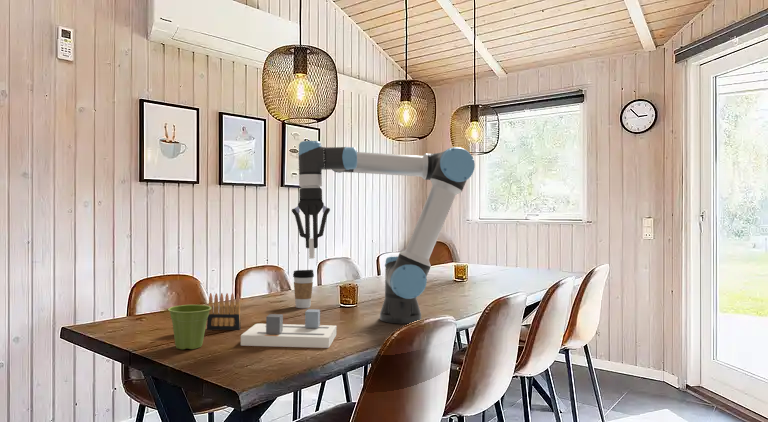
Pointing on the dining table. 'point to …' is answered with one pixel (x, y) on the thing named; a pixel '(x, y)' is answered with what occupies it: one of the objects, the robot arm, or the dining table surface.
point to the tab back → (312, 318)
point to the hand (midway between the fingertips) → (312, 258)
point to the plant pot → (189, 325)
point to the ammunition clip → (224, 313)
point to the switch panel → (290, 336)
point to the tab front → (274, 323)
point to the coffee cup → (303, 287)
